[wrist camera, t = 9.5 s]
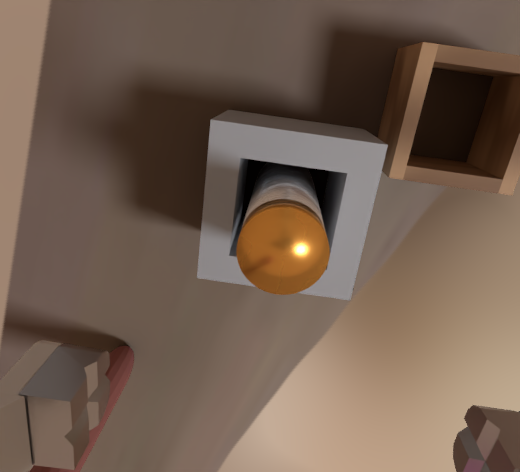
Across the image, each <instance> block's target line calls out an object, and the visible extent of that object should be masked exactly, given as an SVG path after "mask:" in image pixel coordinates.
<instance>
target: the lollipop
mask: <svg viewBox="0 0 520 472" xmlns="http://www.w3.org/2000/svg"><path fill="white" fill-rule="evenodd" d="M109 356H110V366H109V368H108V370H107V371H106V373H105V375H106V376H107V378H108V379H109V380H110V394H109V401H108V404H107V407H106V410H105V413H104V415H103V417H102V419H101V421H100V423H99V425H98V426H96V427H95V428H93V429H91V430H90V431H89V444H88V446H87V448H86V450H85V451H84V453H83V455H82V457H81V459H80V461H79V463H78V465H77V466H76V468H75V470H70V469H61V468H53V467H45V466H36V465H34V466H33V467H32V469H31V470H30V472H80V470H81V468H82V466H83V465H84V463H85V461H86V459H87V457H88V455H89V453H90V452H91V450H92V448H93V446H94V444H95V442H96V440H97V438H98V436H99V434H100V432H101V431H102V429H103V427H104V425H105V423H106V421H107V419H108V417H109V415H110V413H111V411H112V409H113V407H114V406H115V404H116V402H117V400H118V398H119V396H120V394H121V392H122V391H123V389H124V387H125V385H126V383H127V381H128V379H129V376H130V374H131V371H132V368H133V363H134V354H133V351H132V349H131V348H130V347H129V346H119V347H118V348H116V349H114V350H113V351H112V352H111V353H109Z"/></svg>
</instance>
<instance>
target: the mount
mask: <svg viewBox="0 0 520 472" xmlns="http://www.w3.org/2000/svg"><path fill="white" fill-rule="evenodd" d="M432 68H437V69H444V70H451V71H458V72H465V73H472V74H479V75H486V76H493V80H492V83H491V87H490V90H489V93H488V96H487V99H486V102H485V105H484V109H483V112H482V115H481V118H480V121H479V124H478V128H477V131H476V134H475V137H474V140H473V143H472V146H471V150H470V153H469V156H468V159H467V162H460V161H453V160H446V159H439V158H432V157H425V156H418V155H411V154H410V151H411V147H412V144H413V140H414V136H415V132H416V128H417V125H418V121H419V117H420V113H421V110H422V106H423V102H424V98H425V94H426V91H427V87H428V83H429V79H430V76H431V72H432ZM377 138H378V139H380V140H381V141H383V142H384V143H386V144H387V145H388V147H387V151H386V155H385V160H384V164H383V168H382V171H383V172H384V173H385V174H386V175H387V176H388V177H389V178H395V179H402V180H408V181H415V182H422V183H429V184H436V185H443V186H450V187H457V188H464V189H472V190H478V191H485V192H493V193H499V194H506V195H513V192H514V189H515V187H516V184H517V181H518V179H519V176H520V56H519V55H512V54H505V53H498V52H491V51H484V50H477V49H469V48H462V47H455V46H448V45H441V44H434V43H427V42H421V43H417V44H413V45H410V46H406V47H402V48H398V50H397V55H396V59H395V63H394V67H393V72H392V76H391V80H390V85H389V89H388V93H387V98H386V102H385V106H384V110H383V115H382V119H381V123H380V128H379V132H378V136H377Z"/></svg>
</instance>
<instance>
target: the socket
mask: <svg viewBox="0 0 520 472" xmlns="http://www.w3.org/2000/svg"><path fill="white" fill-rule="evenodd" d="M387 147H388V145H387V144H386V143H384V142H383V141H381V140H380V139H378V138H377V137H375V136H374V135H372V134H371V133H369V132H368V131H366V130H365V129H361V128H354V127H347V126H340V125H333V124H326V123H319V122H312V121H305V120H298V119H291V118H284V117H277V116H270V115H263V114H256V113H249V112H242V111H235V110H227V111H225V112H223V113H222V114H220V115H218V116H216V117H214V118H212V119H211V121H210V132H209V144H208V156H207V167H206V179H205V191H204V202H203V214H202V226H201V237H200V249H199V261H198V273H197V278H201V279H208V280H215V281H221V282H228V283H235V284H242V285H249V286H255V285H253V284H252V283H251V282H250V281H249V280H248V279H247V278H246V277H245V276H244V274H243V273H242V271H241V269H240V267H239V264H238V260H237V254H236V250H237V242H238V239H239V235H240V232H241V229H242V225H243V222H244V219H245V217H242V209H243V201H244V193H245V185H246V176H247V168H248V160H249V159H252V160H259V161H266V162H273V163H280V164H286V165H293V166H300V167H307V168H314V169H321V170H328V171H329V174H328V180H327V185H326V190H325V195H324V200H323V205H322V210H321V215H322V219H323V223H324V227H325V231H326V234H327V238H328V242H329V248H330V256H329V261H328V265H327V267H326V270H325V272H324V273H323V275H322V276H321V277H320V279H319V280H318V281H317V282H316V283H315V284H313V285H312V286H311V287H309V288H307V289H305V290H303V291H301V292H298V293H303V294H310V295H317V296H324V297H330V298H337V299H344V300H350V299H351V295H352V291H353V287H354V283H355V279H356V275H357V270H358V266H359V262H360V258H361V254H362V250H363V246H364V242H365V238H366V234H367V229H368V225H369V221H370V217H371V213H372V209H373V205H374V201H375V197H376V192H377V188H378V184H379V180H380V176H381V172H382V168H383V164H384V160H385V155H386V151H387Z"/></svg>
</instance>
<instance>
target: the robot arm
mask: <svg viewBox="0 0 520 472" xmlns="http://www.w3.org/2000/svg"><path fill="white" fill-rule="evenodd" d="M109 366H110V356H109V353H108V352H107V351H106V350H100V349H94V348H89V347H83V346H77V345H71V344H65V343H63V344H62V343H57V342H51V341H46V340H40V341H38V342H36V343H34V344H33V346H32V347H31V348H30V349H29V350H28V351H27V352H26V353H25V354H24V355H23V356H22V357H21V358H20V360H19V361H18V362H17V363H16V364H15V365H14V366H13V367H12V368H11V369H10V370H9V371H8V372H7V374H6V375H5V376H4V377H3V378H2V379H1V380H0V472H27V471H29V470H30V469H31V468H32V465H36V466H45V467H53V468H61V469H70V470H75V468H76V466H77V465H78V463H79V461H80V459H81V457H82V455H83V453H84V451H85V450H86V448H87V446H88V444H89V431H90V430H91V429H93V428H95V427H96V426H98V425H99V423H100V421H101V419H102V417H103V415H104V413H105V410H106V407H107V404H108V401H109V394H110V380H109V379H108V378H107V376H106V375H105V373H106V371H107V370H108V368H109ZM464 419H465V421H466V423H467V426H468V427H466V428H465V429H463V430H462V431H460V432H459V433H458V434H457V437H456V439H455V442H454V448H453V459H454V463H455V468H456V471H457V472H520V411H519V412H516V411H511V410H504V409H497V408H490V407H483V406H475V405H473V406H472V407H471V408H470V409H468V411H467V413H466V415H465V418H464Z"/></svg>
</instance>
